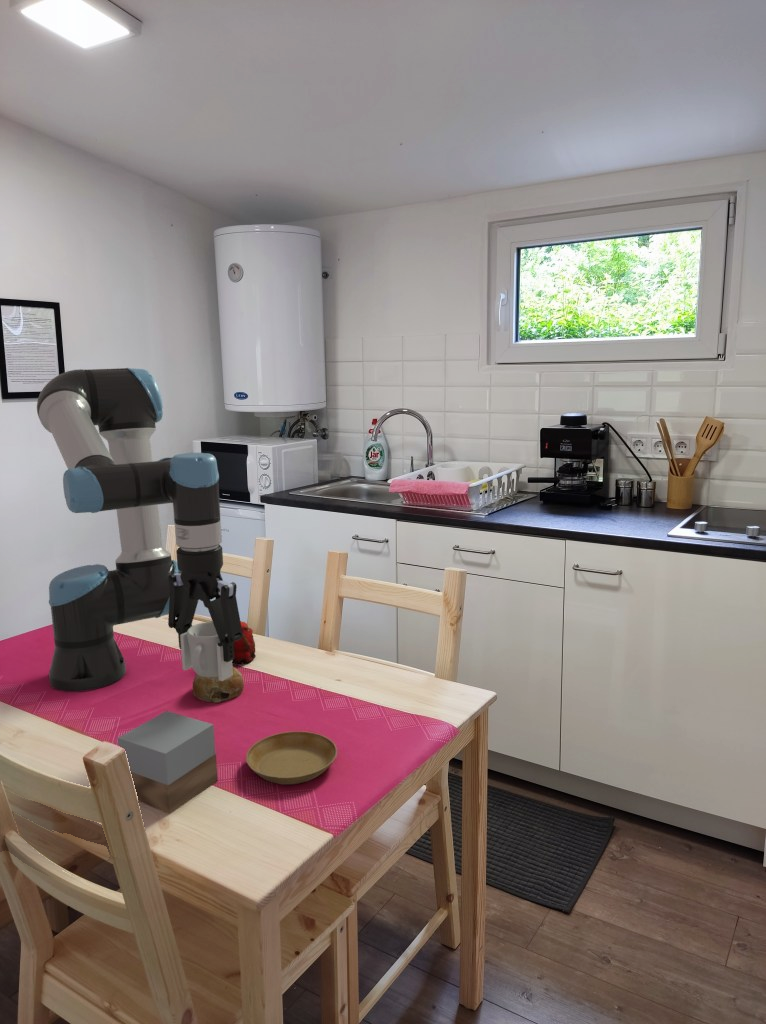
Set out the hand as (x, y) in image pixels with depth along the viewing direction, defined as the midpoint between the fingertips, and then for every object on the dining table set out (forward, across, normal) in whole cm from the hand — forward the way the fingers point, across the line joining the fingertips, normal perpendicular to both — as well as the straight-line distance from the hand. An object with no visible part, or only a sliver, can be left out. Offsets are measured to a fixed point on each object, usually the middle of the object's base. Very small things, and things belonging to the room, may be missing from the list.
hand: (207, 672), depth 129 cm
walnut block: (+12, +7, -16) cm, 21 cm away
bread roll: (+13, -12, +14) cm, 22 cm away
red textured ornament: (+13, -19, +29) cm, 37 cm away
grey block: (+7, +6, -16) cm, 18 cm away
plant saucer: (+12, +19, -1) cm, 23 cm away
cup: (+1, 0, 0) cm, 1 cm away
